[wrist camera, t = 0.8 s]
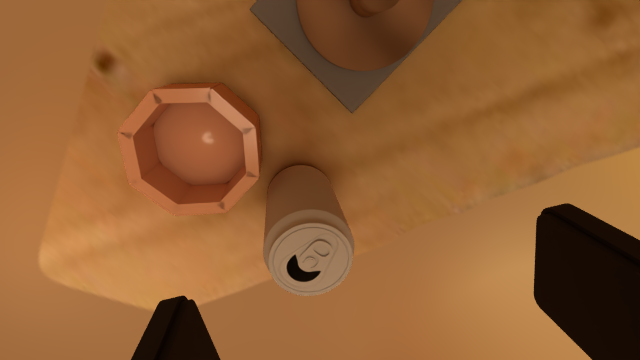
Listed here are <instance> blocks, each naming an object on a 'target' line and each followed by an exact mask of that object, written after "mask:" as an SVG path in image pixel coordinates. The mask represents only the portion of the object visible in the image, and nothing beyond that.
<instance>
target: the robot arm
mask: <svg viewBox="0 0 640 360" xmlns="http://www.w3.org/2000/svg"><path fill="white" fill-rule="evenodd" d="M536 224H537V225H536V250H535V274H534V276H535V277H534V298H535V300H536V303H537V304H538V306H539V307H540V308H541V309H542V310H543V311H544V312H545V313H546V314H547V315H548V316H549V317H550V318H551V319H552V320H553V321H554V322H555V323H556V324H557V325H558V326H559V327H560V328H561V329H562V330H563V331H564V332H565V333H566V334H567V335H568V336H569V337H570V338H571V339H572V340H573V341H574V342H575V343H576V344H577V345H578V346H579V347H580V348H581V349H582V350H583V351H584V352H585V353H586V354H587V355H588V356H589V357H590V358H591V359H592V360H640V240H638V239H636V238H634V237H633V236H631V235H629V234H627V233H625V232H623V231H621V230H619V229H617V228H615V227H613V226H612V225H610V224H608V223H606V222H604V221H602V220H600V219H598V218H596V217H595V216H593V215H591V214H589V213H587V212H585V211H583V210H581V209H579V208H577V207H575V206H573V205H571V204H561V205H557V206H553V207H549V208H545V209H544V210H543V211H542V212H541V215H540V216H538V218H537V223H536ZM131 360H220V358H219V355H218V353H217V351H216V349H215V347H214V344H213V342H212V340H211V337H210V335H209V333H208V331H207V328H206V326H205V324H204V321H203V319H202V317H201V315H200V312H199V310H198V308H197V305H196V303H195V302H194V300H192V299H191V300H188V299H187V298H186V297H185V296H179V297H175V298H170V299H166V300H162V301H160V302H159V304H158V305H157V307H156V309H155V312H154V314H153V316H152V318H151V320H150V322H149V324H148V326H147V328H146V330H145V332H144V334H143V336H142V338H141V340H140V342H139V344H138V346H137V348H136V350H135V352H134V355H133V357H132V359H131Z"/></svg>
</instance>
